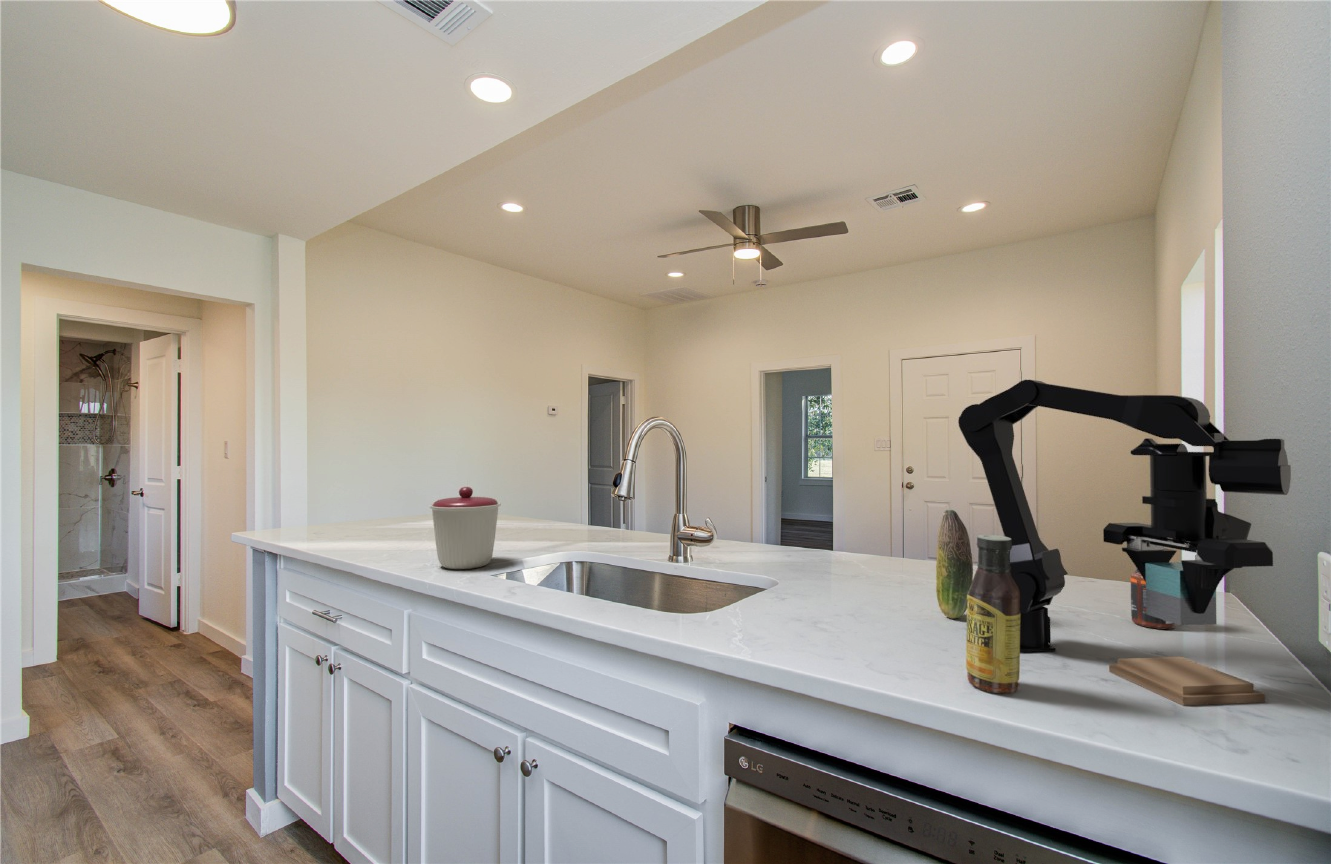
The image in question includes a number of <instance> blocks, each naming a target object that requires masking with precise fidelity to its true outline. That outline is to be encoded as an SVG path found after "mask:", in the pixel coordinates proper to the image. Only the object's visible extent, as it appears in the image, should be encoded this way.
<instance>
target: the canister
mask: <svg viewBox="0 0 1331 864" xmlns="http://www.w3.org/2000/svg"><path fill="white" fill-rule="evenodd" d="M473 493H474V491H473V488H472V487H469V486H464V487H463V486H462V487H461V488H460V489H459V491H458V495H459V497H458V496H456V497H447V498H441V499H437V500H436V501H435V502H433V503H432V504H430V505H429V508H430V509H431V510H432V520H433V521H432V523H433V530H434V540H435V546H436V555H437V560H438V562H439V564H440V565H441V566H442V567H443V568H446V569H449V570H471V569H478V568H482V567H484V566H487V565H488V564H490V562H491V561H492V558H493V554H494V547H495V539H496V531H497V524H498V523H497V522H498V515H499V507H500V506H501V504H502V503H501V502H499V501H498V500H496V499H494V498H493V497H487V496H486V497H485V496H473Z"/></svg>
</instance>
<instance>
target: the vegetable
mask: <svg viewBox="0 0 1331 864" xmlns="http://www.w3.org/2000/svg"><path fill="white" fill-rule="evenodd" d="M938 528H939V529H938V534H937V547H936V566H935V568H936V573H935V574H936V575H935V579H936V580H935V581H936V582H935V583H936V585H935V587H936V588H935V589H936V590H935V592H936V599H937V603H938V607H939V609H940V611H941V612H942V614H943V615H944V616H945V617H947V618H948V619H958V618H961V617H963V615H964V614H965V613H966V612H967V594H968V591H969V589H970V586H971V583H972V581H973V578H974V567H973V565H974V561H973V554H972V548H971V547H972V546H971V542H970V541H971V539H970V537H969V533H968V529H967V527H966V525H965V524H964V522H963V520H962V519H961V518H960V516H959V514H958V513H957V511H955V510H954V509H946V510H945V511H944V512H943V514H942V518H941V522H940V525H939V527H938Z"/></svg>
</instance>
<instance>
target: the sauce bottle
mask: <svg viewBox="0 0 1331 864" xmlns="http://www.w3.org/2000/svg"><path fill="white" fill-rule="evenodd" d="M976 546H977V548H978V549H977V552H978V553H977V554H978V555H977V562H978V563H977V569H976V571H975V573H974V574H973V580H972V583H971V586H970V589H969V591H968V594H967V610H966V635H965V636H966V643H965V644H966V646H965V647H966V649H965V650H966V653H965V654H966V655H965V660H966V661H965V668H966V671H967V673H966V677H967V681H968V683H969V684H970V685H972V686H973V687H974V688H978V689H980V690H982V691H985V692H987V693H992V694H1011V693H1012V694H1013V693H1015V692H1016V691H1018V690H1019V686H1020V684H1019V681H1020V661H1021V660H1020V659H1021V656H1020V655H1021V652H1020V611H1019V608H1020V604H1019V602H1020V593H1019V588H1018V587H1017V585H1016V583H1015V582H1014V580H1013V579H1012V576H1011V573H1010V569H1011V567H1010V551H1011V549H1012V539H1011V538H1009V537H1005V536H1004V535H998V534H980V535H978V536H977V537H976Z"/></svg>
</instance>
